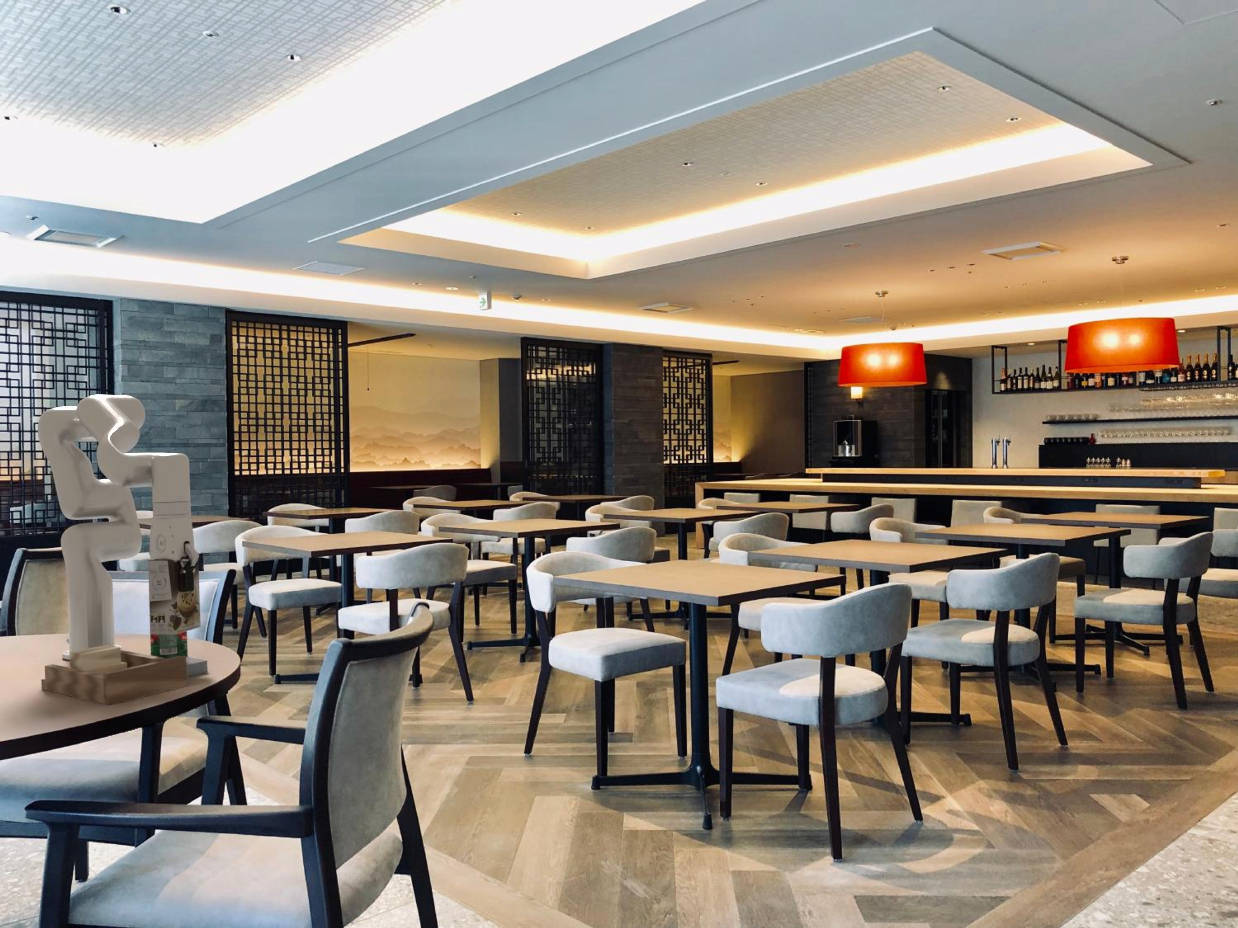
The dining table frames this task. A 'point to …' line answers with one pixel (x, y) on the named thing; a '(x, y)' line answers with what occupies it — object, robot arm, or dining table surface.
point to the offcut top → (95, 657)
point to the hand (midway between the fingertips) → (174, 589)
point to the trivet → (194, 665)
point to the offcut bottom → (109, 668)
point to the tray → (119, 679)
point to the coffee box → (172, 599)
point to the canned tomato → (169, 645)
